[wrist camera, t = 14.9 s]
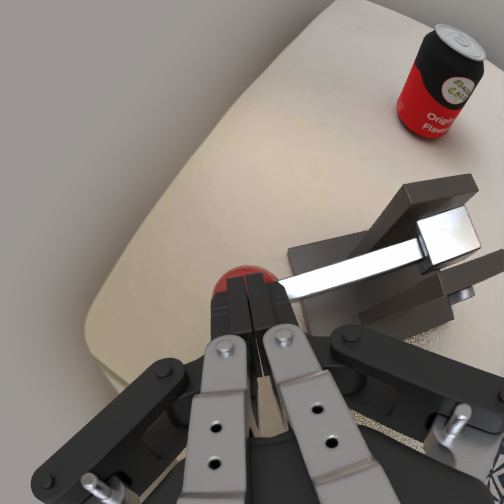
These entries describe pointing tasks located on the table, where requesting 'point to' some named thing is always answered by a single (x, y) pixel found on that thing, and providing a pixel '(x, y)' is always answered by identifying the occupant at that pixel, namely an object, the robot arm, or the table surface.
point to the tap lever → (382, 258)
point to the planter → (497, 476)
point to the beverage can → (440, 81)
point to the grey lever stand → (399, 282)
